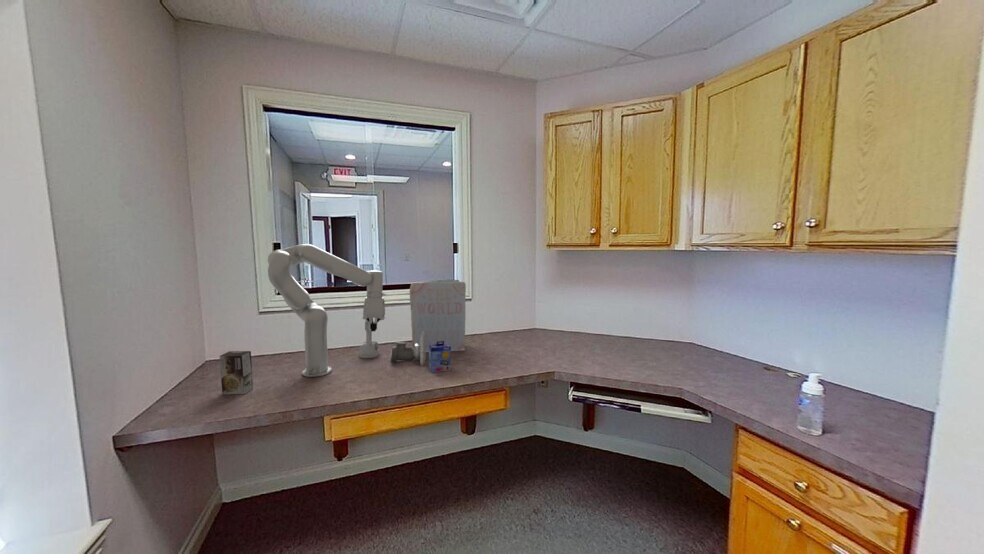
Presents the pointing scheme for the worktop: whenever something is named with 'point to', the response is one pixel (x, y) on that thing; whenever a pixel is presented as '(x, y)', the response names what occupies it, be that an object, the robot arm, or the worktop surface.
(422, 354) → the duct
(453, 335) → the grey shopping bag
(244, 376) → the coffee box
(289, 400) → the worktop surface
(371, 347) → the electric toothbrush
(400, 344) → the pipe fitting
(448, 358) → the ink cartridge box
